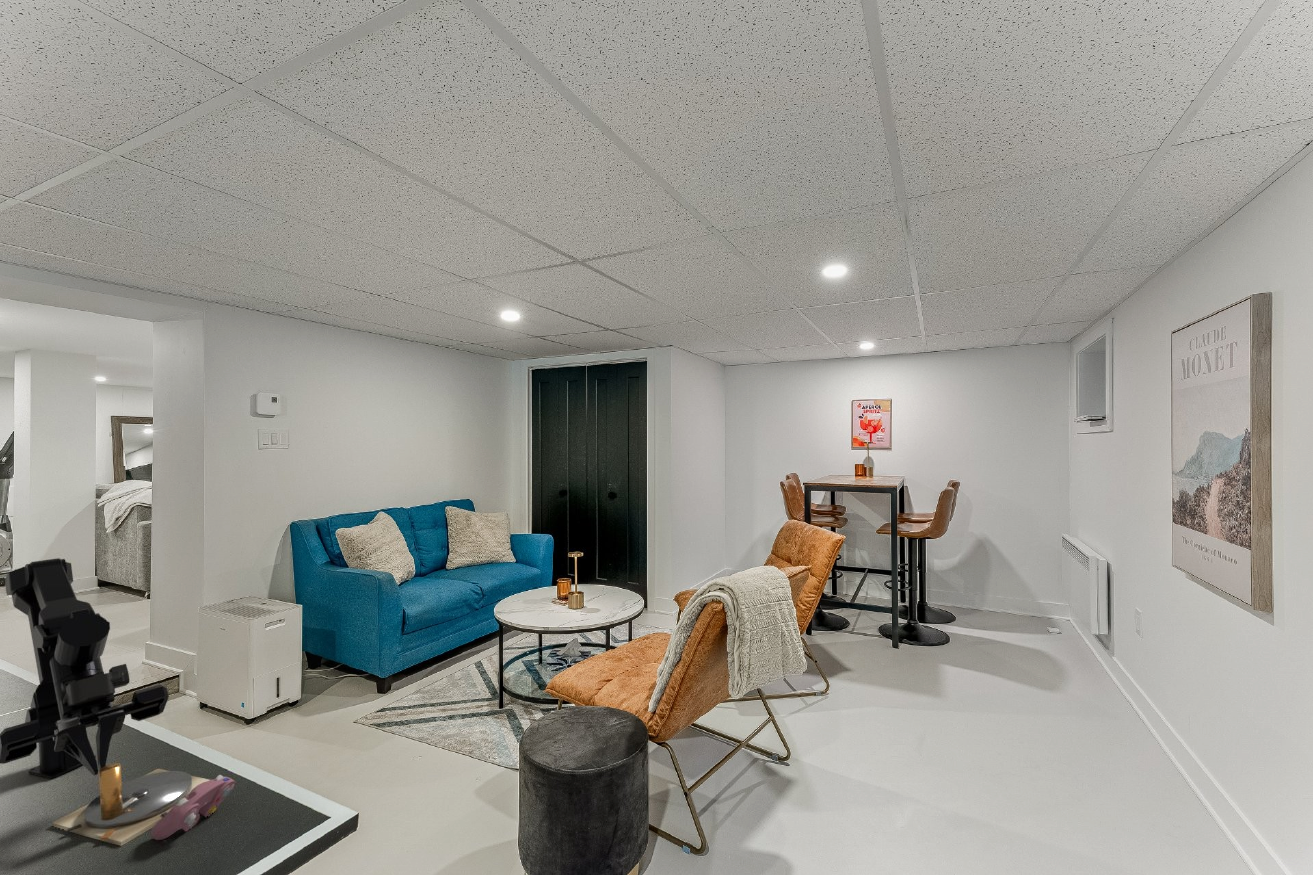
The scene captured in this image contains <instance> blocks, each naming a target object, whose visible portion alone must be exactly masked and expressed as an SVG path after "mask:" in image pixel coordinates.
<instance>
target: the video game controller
mask: <svg viewBox="0 0 1313 875" xmlns="http://www.w3.org/2000/svg"><path fill="white" fill-rule="evenodd" d="M208 780H209V781H207V782H203V783H201V784H199V785H197V786H196V787H195V788H193V789H192V790H191V792H190V793H189V794H188V795H187V796H186V797H184V798H183V799H181V800H180V801H179V802H178V803H177V804H176V805H175V806H174V807H173V808H172V809H171V810H170V811H169V812H168V813H167V814H166V815H165V816H164V817H163V818H162V819H161V820H160V821H158V822H157V823H156V824H155V825H154V827H153V828H151V834H150V835H151V837H152V839H154V840H156V841H162V840H165V839H167V838H169V837H170V836H171V835H173V834H175V833H176V832H177V831H178V830H183V831H184V832H189V829H190V830H191V829H192V827H193V826H194V825H195V826H196V824H197V823H198V822H199V820H200V818H201V816H203V817H205V818H207V816H208V817H209V815H210V814H211V815H213V814H214V812H216V810H217V809H218V807H219V806H220V805H221V803H222V802H223V801H224V800H225V799H226V798H227V797H228V796H230V795H231V793H232V791H233V790H234V788H235V786H236V784H237V783H236V781H235V780H234V779H233V778H231V777H230V776H229V777H228V776H223V775H221V774H219V775H217V776H216V778H213V779H208ZM212 813H213V814H212ZM211 815H210V816H211ZM195 826H194V827H195ZM194 827H193V828H194Z"/></svg>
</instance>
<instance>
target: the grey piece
mask: <svg viewBox="0 0 1313 875" xmlns="http://www.w3.org/2000/svg"><path fill="white" fill-rule="evenodd" d="M191 776H192V775H191V774H189V773H188V772H185V771H180V770H167V771H165V772H158V773H153V774H149V775H147V774H145V775H141V776H139V777H136V778H133V779H130V780H128V781H125V782H122V763H120V762H114V763H110V764H106V766H104V767H102V768H101V769H100V770H99V769H98V777H99V779H98V780H99V782H98V783H99V795H98V796H97V797H95V798H94V799H92V801H90V802H89V803H88V804H89V805H88V804H87V805H88V806H87V807H86V809H85V812H84V819H85V823H86V824H87V825H88V826H90V827H94V828H113V827H119V826H124V825H128V824H132V823H135V822H138V821H141V820H144V819H147V818H150V817H152V816H154V815H157V814H159V813H161V812H163V811H165V810H167V809H169V808H170V807H172V806H174V805H175V804H177V803H178V802H179V801H180V800H181V799H183V798H184V797H185V796H186V795H187V794H188V793H189V792H190V790H191V788H192V777H191Z"/></svg>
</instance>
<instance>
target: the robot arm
mask: <svg viewBox="0 0 1313 875" xmlns="http://www.w3.org/2000/svg"><path fill="white" fill-rule="evenodd" d="M73 575H74V574H73V568H72V562H67V561H66V559H65V558H60V557H58V558H50V559H44V560H38V561H37V560H35V561H31V562H30V563H26V564H25V565H24V566H22V567H20V568H16V569H14V570H11V571H9V572H8V573H7V574H6V577H5V578H4V579H5V580H4V581H5V582H4V584H5V593H6V596H11V599H12V603H13V604H12V605H13V607H14V608H15V609H16V610H18V611H20V612H21V613H23V614H25V615H26V616H27V617H28V622H29V623H28V624H29V630H30V635H31V640H32V641H31V642H32V646H33V652H34V658H35V662H36V670H37V676H38V680H39V684H38V685H37V687H36V689H35V691H34V693H33V694H32V698H31V703H30V708H29V709H27V710H26V715H25V720H24V722H23V723H20V724H16V725H13V726H9V727H5V728H3V730H2V731H1V732H0V764H1V765H4V764H8V763H11V762H14V761H17V760H21V759H24V758H27V757H30V756H31V755H32V754H33V753H35V751H36V750H37V748H38V759H39V765H37V766H35V767H33V768H30V769H28V774H29V775H34V776H39V777H43V778H46V779H55V778H57V777H59V776H61V775H64V774H65V773H67V772H70V771H72V770H74V769H76V768H79V767H80V766H84V767H85V768H86V769H87V771H89V772H90V773H91V774H92V775H93V776H97V775H99V770H100V769H101V768H102V767H104V766H107V759H108V755H109V750H110V743H111V740H112V737H113V735H114V734H117V733H120V732H121V731H122V728H123V726H124V722H125V719H126V716H127V715H130V719H131V720H134V721H137V722H141V721H144V720H148V719H150V718H153V717H156V716H159V715H161V714H163V713H164V710H165V708H166V705H167V703H168V700H169V697H170V695H169V693H168V689H167V687H166V686H165V685H162V684H157V685H154V686H150V687H146V688H142V689H140V690H135V691H133V695H132V697H131V700H130V701H126V702H122V703H119V704H116V705H113V706H112V703H113V702H115V699H116V697H115V693H116V689H119V688H122V687H125V686H127V685H128V684H130V673H129V670H128V669H129V668H128V667H127V664H126V663H124V664H119V665H115V666H112V667H111V668H109V669H108V672H105V671H104V669H103V663H102V660H101V657H102V656H103V654H104V652H105V648H106V644H107V640H108V636H109V633H110V630H111V623H110V621H108V620H107V619H106V618H104V617H103V616H102V615H101V614H100V613H99V612H98V613H97V612H95V610H94V608H93V607H92V605H91V603H89V602H86V601H83V600H79V599H78V598H77V596H76V593H75V590H74V589H73V586H72V583H73V582H74V576H73ZM95 726H97V731H96V735H95V743H96V745H95V746H96V755H95V753H94V750H93V748H92V746H91V743H90V740H89V737H88V731H87V728H90V727H95ZM96 757H97V758H96Z"/></svg>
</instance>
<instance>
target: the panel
mask: <svg viewBox="0 0 1313 875" xmlns="http://www.w3.org/2000/svg"><path fill="white" fill-rule="evenodd" d="M165 771H168V770H166V769H163V768H157V769H154V770H153V771H150V772H148V773H146V775H149V774H153V773H158V772H165ZM191 777H192V788H191V790H192V789H193V788H195V787H196V786H197V785H199V784H201V783H203V782H207V781H209V780H210V779H209V778H203V777H199V776H194V775H191ZM191 790H190V792H191ZM190 792H189V793H190ZM189 793H188V794H189ZM188 794H187V795H188ZM187 795H186V796H187ZM186 796H185V797H186ZM89 804H90V803H88V804H86V805H85V806H81V807H80V808H77V809H76V810H74V811H72V812H71V813H68V814H67V815H64V816H63V817H60V818H58V819H57V820H55V821H53V822H51V826H52V825H53V826H55V827H58V828H60V830H62V829H64V830H63V831H65V832H67V833H69V832H70V833H72V834H73V833H74V834H77V835H81V836H84V837H88V838H91V839H95V840H98V841H102V842H105V843H109V844H113V845H116V846H120V847H122V846H124V845H125V844H127V843H129V842H131V841H132V840H134V839H136V838H138V837H140V836H141V835H143V834H145V832H148V831H149V830H152V828H153V827H154V825H155V824H156V823H157V822H158V821H160V820H161V819H162V818H163V817H164V816H165V815H166V814H167V813H168V812H169V811H170V810H171V809H172V808H173V807H174V806H175V805H176V804H175V805H174V806H172V807H170V808H169V809H167V810H165V811H163V812H161V813H159V814H157V815H154V816H152V817H150V818H147V819H144V820H141V821H138V822H135V823H132V824H128V825H124V826H119V827H113V828H94V827H90V826H88V825H87V824H86V823H85V819H84V812H85V809H86V807H87V806H88V805H89ZM55 827H54V828H55ZM58 828H57V829H58Z"/></svg>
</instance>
